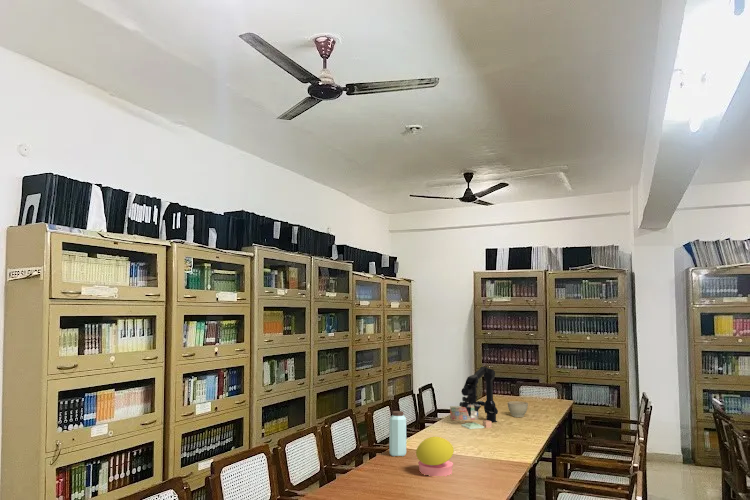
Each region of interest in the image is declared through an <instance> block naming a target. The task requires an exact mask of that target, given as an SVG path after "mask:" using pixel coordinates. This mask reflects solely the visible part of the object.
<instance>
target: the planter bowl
mask: <svg viewBox="0 0 750 500" xmlns="http://www.w3.org/2000/svg"><path fill="white" fill-rule="evenodd" d="M528 405H529V403H528V402H526V401H517V400H515V401H513V400H511V401H507V408H508V409H507V410H508V411H509V413H510V414H511V416H512V417H514V418H524V417H525V414H526V413H527V410H528V409H529V408H528V407H529V406H528Z"/></svg>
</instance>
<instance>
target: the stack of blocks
mask: <svg viewBox="0 0 750 500" xmlns="http://www.w3.org/2000/svg"><path fill="white" fill-rule="evenodd" d="M449 407H450V409H449V414H450V415H449V417H450V420H475V421H476V420H477V421H478V420H479V411H478V412H477V418H470V417H468V412H467V409H466V408H465V407H461V406H460V405H459V406H456V405H455V406H452V405H451V406H449ZM470 407H471V410H474V411H475V407H474V405H470Z"/></svg>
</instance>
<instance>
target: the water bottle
mask: <svg viewBox="0 0 750 500" xmlns="http://www.w3.org/2000/svg"><path fill="white" fill-rule="evenodd" d="M391 413H392V415H391V416H389V422H388V423H389V427H388V428H389V434H388V435H389V442H388V443H389V444H388V445H389V446H388V447H389V448H388V449H389V455H390V456H392V457H395V456H402V457H404V456H406V454H407V418H406V416H405V415H404V411H401V410H393V411H391Z"/></svg>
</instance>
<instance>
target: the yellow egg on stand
mask: <svg viewBox="0 0 750 500" xmlns="http://www.w3.org/2000/svg"><path fill="white" fill-rule="evenodd" d="M454 451H455V449H454V446H453V444H452V443H451V442H450V441H448V440H447V439H446V438H443V437H440V436H429V437H427V438H426V439H424V440H423V441H421V442H420V443H419V445H418V446H417V448H416V451H415V454H416V457H417V460H418V467H419V468H418V469H419V471H420V472H421V473H422V474H425V475H430V476H445V477H448V476H447V475H449V476H451V475H452V474H453V467H454V462H452V461H451V460H450V459H451V458H452V457H453V455H454ZM420 472H419V473H420ZM421 473H420V474H421ZM422 474H421V475H422ZM450 474H451V475H450ZM425 475H424V476H425ZM430 476H429V477H430Z"/></svg>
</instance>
